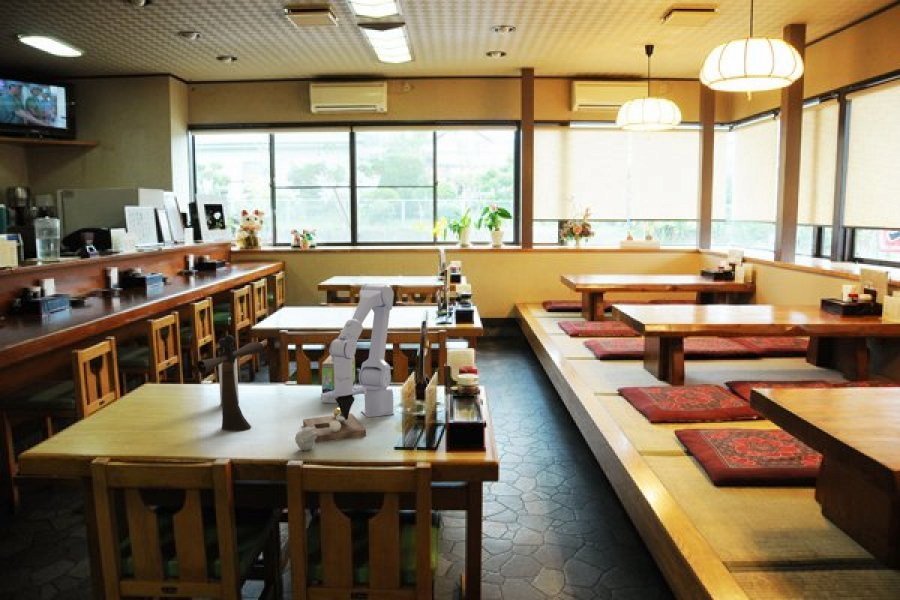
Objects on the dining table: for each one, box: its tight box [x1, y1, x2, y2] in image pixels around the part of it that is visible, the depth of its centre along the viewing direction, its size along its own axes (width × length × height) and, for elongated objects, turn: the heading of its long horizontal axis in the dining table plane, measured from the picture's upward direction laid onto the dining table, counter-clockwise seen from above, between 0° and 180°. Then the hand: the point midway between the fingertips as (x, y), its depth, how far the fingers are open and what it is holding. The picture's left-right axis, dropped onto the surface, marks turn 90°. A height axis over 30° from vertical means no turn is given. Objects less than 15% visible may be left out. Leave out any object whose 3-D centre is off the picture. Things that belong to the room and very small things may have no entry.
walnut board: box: [302, 412, 367, 444], centre depth 208 cm, size 16×18×2 cm
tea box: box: [321, 354, 356, 404], centre depth 244 cm, size 15×10×15 cm
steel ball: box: [336, 414, 346, 424], centre depth 209 cm, size 3×3×3 cm
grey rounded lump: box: [294, 427, 318, 452], centre depth 191 cm, size 6×7×7 cm
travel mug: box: [217, 347, 240, 407], centre depth 236 cm, size 6×7×20 cm
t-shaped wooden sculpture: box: [196, 334, 264, 432], centre depth 210 cm, size 32×10×30 cm, turn 165°
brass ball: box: [332, 407, 341, 416], centre depth 215 cm, size 3×3×3 cm
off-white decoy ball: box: [330, 420, 341, 432], centre depth 201 cm, size 3×3×3 cm
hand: (344, 419), depth 209 cm, fingers closed, pressing on steel ball
